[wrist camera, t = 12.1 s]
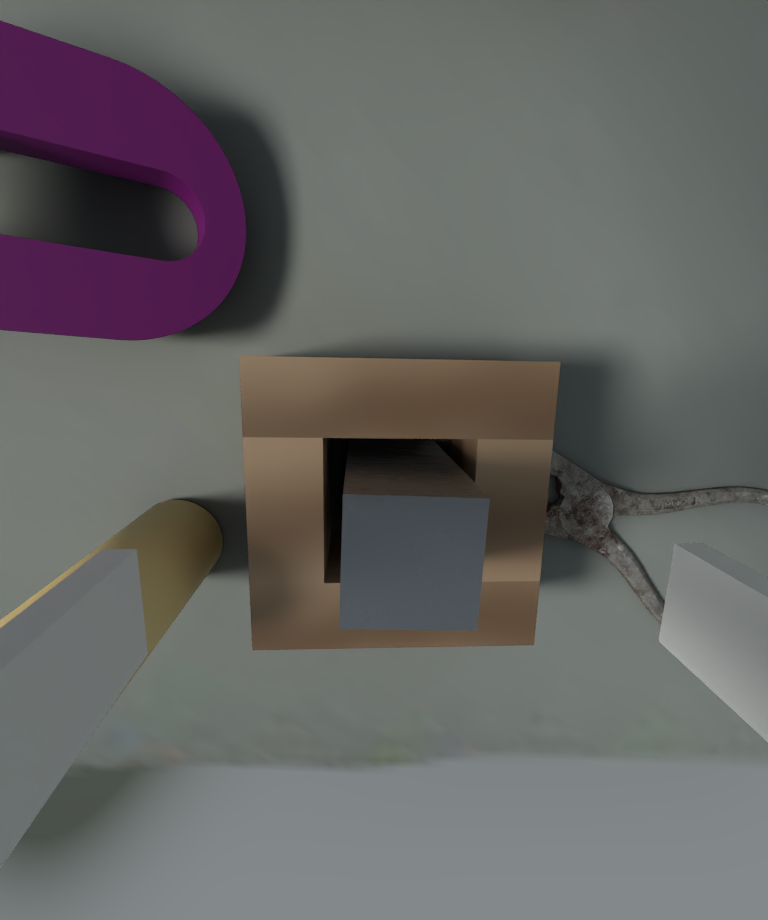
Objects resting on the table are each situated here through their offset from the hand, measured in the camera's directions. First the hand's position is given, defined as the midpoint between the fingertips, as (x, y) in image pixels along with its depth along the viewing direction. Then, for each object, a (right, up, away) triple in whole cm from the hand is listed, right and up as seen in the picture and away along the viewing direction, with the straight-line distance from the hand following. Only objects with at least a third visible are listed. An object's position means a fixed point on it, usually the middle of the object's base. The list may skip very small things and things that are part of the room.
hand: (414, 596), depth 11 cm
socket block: (0, +2, +12) cm, 12 cm away
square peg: (0, +2, +12) cm, 12 cm away
